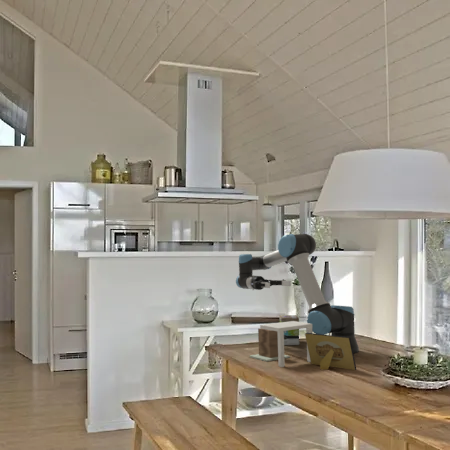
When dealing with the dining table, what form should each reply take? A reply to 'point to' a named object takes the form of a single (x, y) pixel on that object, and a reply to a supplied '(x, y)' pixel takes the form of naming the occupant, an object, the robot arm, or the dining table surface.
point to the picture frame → (330, 351)
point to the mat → (266, 357)
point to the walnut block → (268, 343)
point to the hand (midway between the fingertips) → (279, 284)
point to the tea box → (290, 335)
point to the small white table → (280, 331)
